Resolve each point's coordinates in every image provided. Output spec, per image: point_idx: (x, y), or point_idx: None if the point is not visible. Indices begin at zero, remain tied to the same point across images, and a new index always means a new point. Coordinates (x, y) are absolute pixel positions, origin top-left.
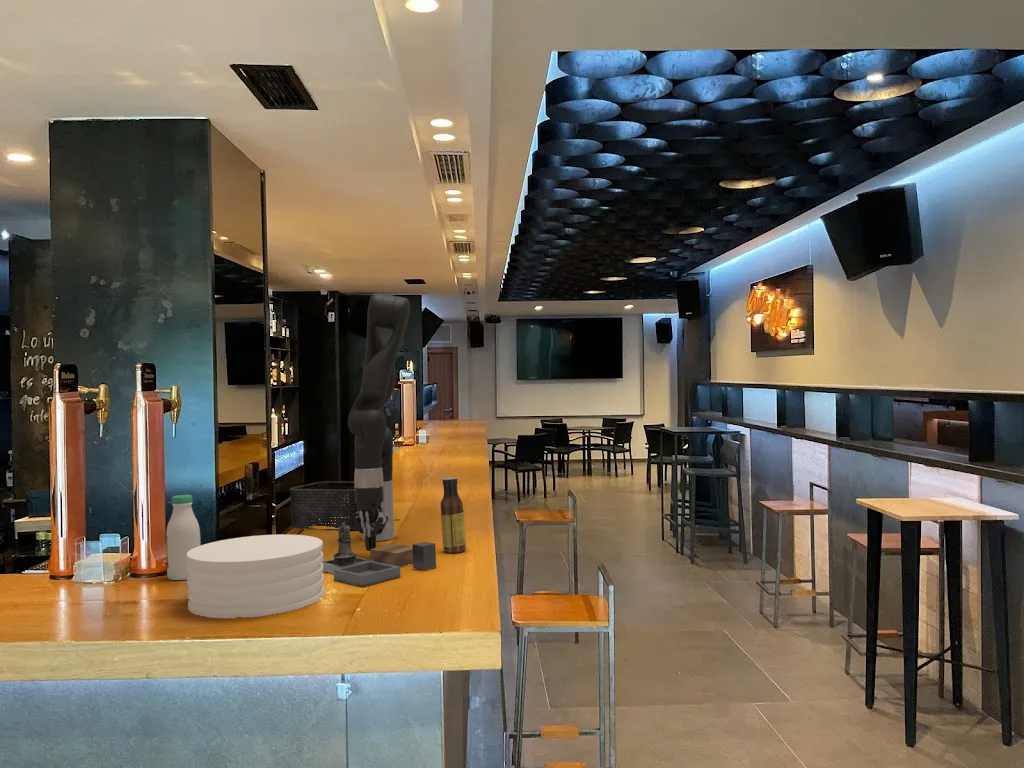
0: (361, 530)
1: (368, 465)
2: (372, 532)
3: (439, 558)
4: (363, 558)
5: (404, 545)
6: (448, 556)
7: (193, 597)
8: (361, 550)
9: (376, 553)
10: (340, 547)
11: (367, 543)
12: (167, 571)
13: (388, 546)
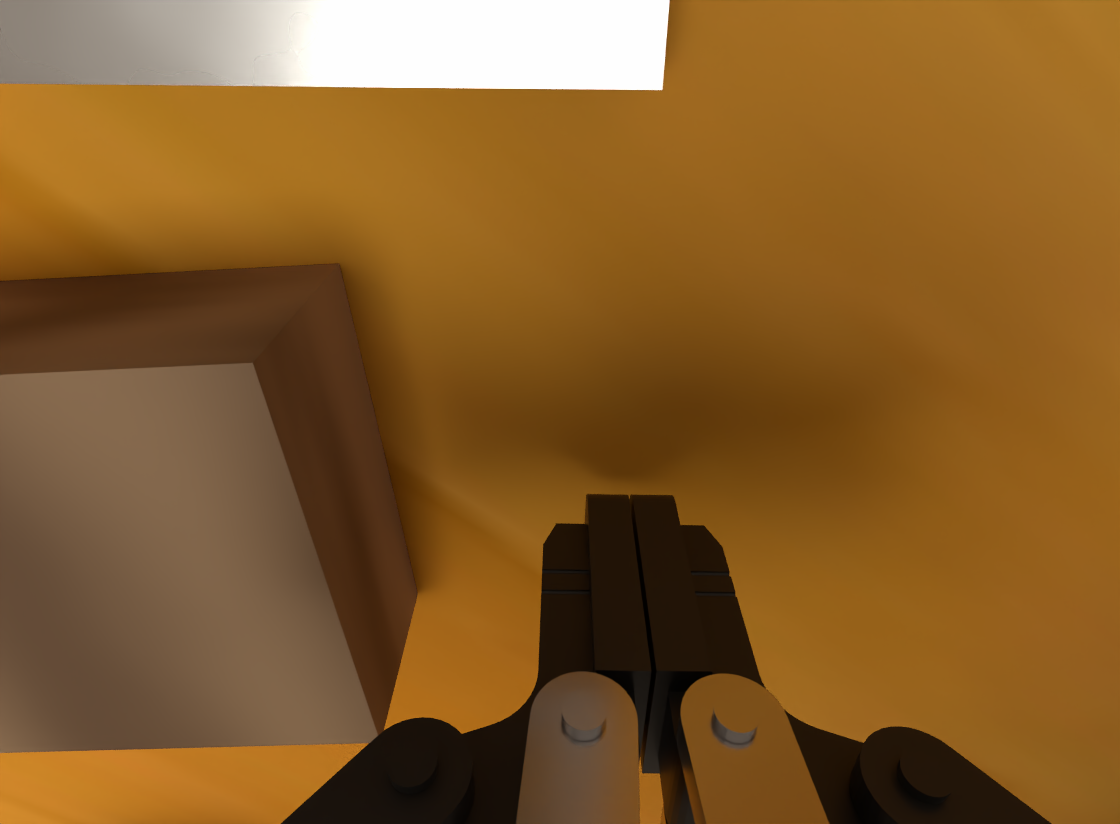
0: (890, 798)
1: None
2: (411, 782)
3: None
4: (147, 68)
5: (143, 743)
6: (74, 799)
7: None
8: (1026, 625)
9: (108, 342)
10: None
11: (637, 570)
12: None
13: (238, 630)
